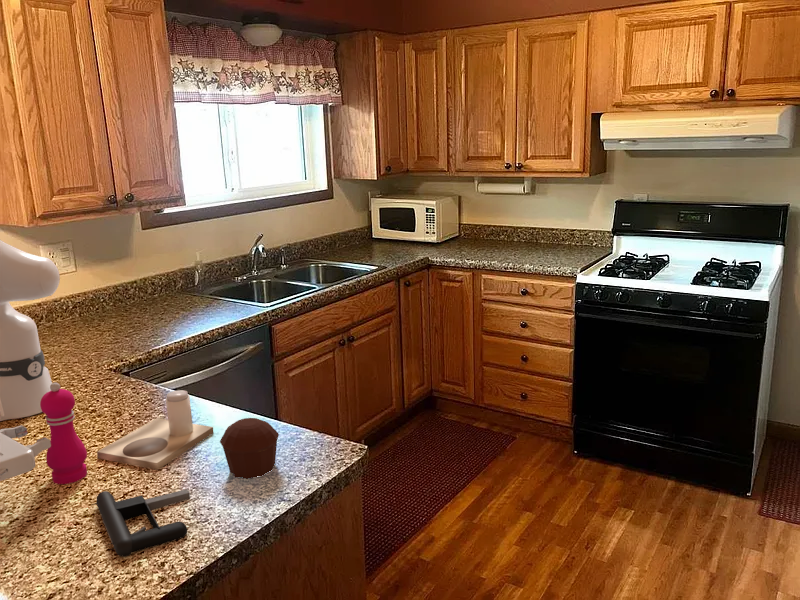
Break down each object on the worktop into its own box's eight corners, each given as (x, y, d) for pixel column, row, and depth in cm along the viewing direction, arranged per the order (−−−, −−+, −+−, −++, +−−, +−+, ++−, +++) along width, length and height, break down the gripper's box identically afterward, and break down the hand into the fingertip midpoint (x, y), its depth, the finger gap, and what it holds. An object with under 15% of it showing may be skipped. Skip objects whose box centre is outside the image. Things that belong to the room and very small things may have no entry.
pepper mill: (95, 467, 136) (81, 375, 131) (80, 485, 128) (64, 388, 124) (60, 468, 135) (44, 377, 131) (43, 486, 128) (25, 390, 124)
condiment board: (97, 458, 139) (96, 451, 139) (157, 423, 156) (157, 417, 155) (157, 469, 134) (156, 462, 133) (213, 433, 150) (212, 426, 149)
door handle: (178, 472, 128) (87, 493, 119) (210, 519, 112) (108, 547, 103) (179, 488, 129) (89, 510, 120) (211, 537, 113) (110, 566, 104)
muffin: (293, 464, 134) (289, 419, 131) (250, 488, 125) (245, 439, 123) (254, 449, 141) (250, 406, 138) (211, 471, 132) (206, 424, 130)
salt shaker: (165, 434, 146) (160, 396, 144) (180, 425, 151) (175, 388, 148) (183, 437, 144) (178, 399, 142) (198, 428, 149) (193, 391, 147)
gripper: (-23, 464, 108) (61, 433, 119) (-70, 434, 120) (10, 408, 131) (-16, 499, 110) (66, 465, 120) (-63, 465, 122) (16, 437, 133)
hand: (36, 435), depth 126 cm, fingers open, 8 cm apart
